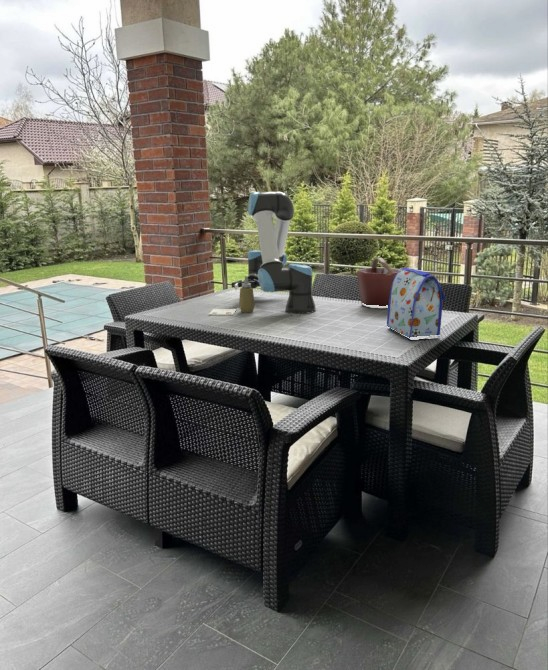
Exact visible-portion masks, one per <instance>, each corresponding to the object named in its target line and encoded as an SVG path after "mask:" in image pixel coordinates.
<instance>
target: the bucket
mask: <svg viewBox="0 0 548 670" xmlns="http://www.w3.org/2000/svg"><path fill="white" fill-rule="evenodd" d="M378 263H380V265H382V267H378ZM400 269H401V268H392V267H391V266H390V265H389V264H388V263H387V261H386V260H385V259H384V258H383V257H375V258H374V259H373V260H372V263H371V267H365V268H361V269H357V270H356V278H357V284H358V288H359V296H360V301H361V304H362V303H364V304H366V305H379V306H386V305H389V298H390V291H391V287H392V283H393V280H394V277H395V276H396V275H397V273H398V272H399V270H400Z"/></svg>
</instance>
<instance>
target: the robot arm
mask: <svg viewBox="0 0 548 670" xmlns="http://www.w3.org/2000/svg"><path fill="white" fill-rule="evenodd" d="M248 197H249V199H248V205H247V208H248V209H247V211H248V216H251V217H252V219H253V221H254V222H256V227H257V234H258V240H259V248H260V250H255V249H254V250H249V251H248V253H247V265H248V269H247V270H248V271H247V274H248V275H247V277H248V281H249V283H251V288H253V290H254V289H256V288H257V287H259V288H260V291H263V292H264V293H277V292H278V293H279V292H288V298H287V301H286V305H285V311H286V312H287V311H288V312H287V313H290V312H292V313H291V314H308V313H307V312H311V313H313V312H312V311H314V312H316V304H315V300H314V297H313V268H312V267H311V266H309V265H305V264H297V263H296V264H295V263H290V264H288V267H285V266H286V264H287V263H288V262H287V259H288V257H287V254H286V253H285V249H286V244H287V240H288V239H287V238H288V235H289V228H290V224H291V220H292V219H293V218H294V213H295V208H294V205H293V204H294V203H293V201H292V199H291V198H290V197H289V196H288V195H287V194H286V193H284V192H282V191H254V192H251V193H250V195H249V196H248ZM274 219H276V220H275V223H274ZM242 283H244V280H242V279H239V280H237V281H233V282H231V283H230V285H231V288H234V290H235V291H237V290H238V289H239V288H242Z"/></svg>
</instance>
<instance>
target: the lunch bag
mask: <svg viewBox="0 0 548 670" xmlns="http://www.w3.org/2000/svg"><path fill="white" fill-rule="evenodd" d="M399 269H400V270H399V272H398V273H397V275H396V276H395V277H394V280H393V283H392V287H391V291H390V298H389V305H388V309H387V318H386V327H387V326H388V327H390V328H392V329H394V330H396V331H397V332H399V333H401V334H403V335H405V336H407V337H409V338H410V337H417V336H430V335H440V334H441V326H442V316H443V301H446V300H447V296H446V295H445V293H444V291H443V289H442V286H441V284H440V282H439V280H438V279H437V278H436V277H435V276H434V275H432V274H431V273H430V272H425V271H423V270H418V269H415V268H408V267H402V268H399Z"/></svg>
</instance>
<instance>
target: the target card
mask: <svg viewBox="0 0 548 670" xmlns="http://www.w3.org/2000/svg"><path fill="white" fill-rule="evenodd" d="M235 311H237V308H213V309H212V310H211V311H210V312H209V313H208V316H234V315H233V314H235V313H236V312H235Z"/></svg>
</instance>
